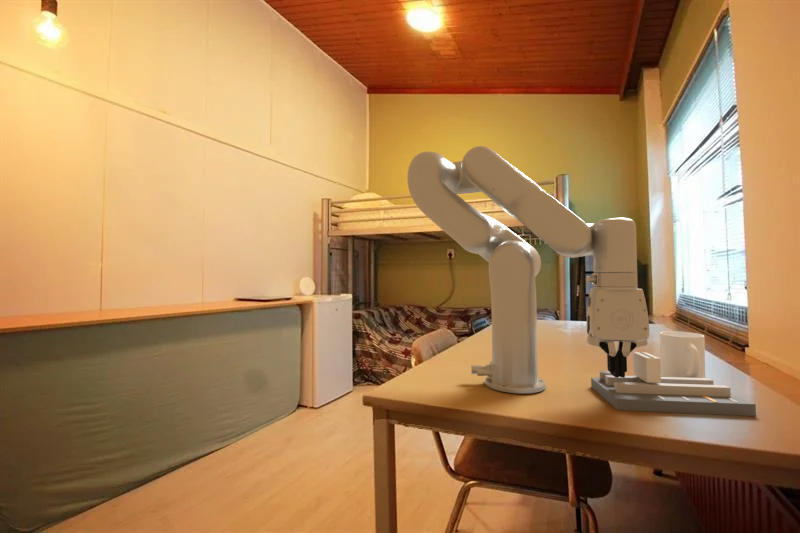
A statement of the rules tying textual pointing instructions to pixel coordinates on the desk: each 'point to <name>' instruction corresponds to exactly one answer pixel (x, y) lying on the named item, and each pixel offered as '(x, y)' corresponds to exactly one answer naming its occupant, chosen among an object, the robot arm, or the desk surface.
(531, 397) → the desk surface
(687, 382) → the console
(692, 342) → the mug
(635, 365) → the fader
